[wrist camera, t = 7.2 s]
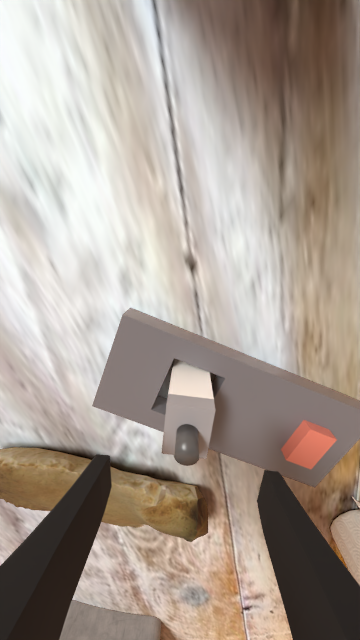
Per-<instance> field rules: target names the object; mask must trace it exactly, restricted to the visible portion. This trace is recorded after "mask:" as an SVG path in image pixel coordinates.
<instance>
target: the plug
mask: <svg viewBox="0 0 360 640" xmlns="http://www.w3.org/2000/svg"><path fill="white" fill-rule="evenodd" d="M214 416H215V404H214V397H213V391H212V384H211V378H210V372H208V371H205V370H203V369H200V368H198V367H195V366H193V365H190V364H188V363H185V362H183V361H180V360H178V359H175V358H174V362H173V368H172V374H171V380H170V386H169V392H168V398H167V404H166V414H165V425H164V435H163V445H162V453H163V454H171V455H174V457H175V460H176V461H177V462H178V463H180V464H182V465H186V466H189V465H193V464H195V463H196V462H197V461H198V460H199V458H203V459H206V458H207V453H208V448H209V442H210V437H211V432H212V426H213V421H214Z"/></svg>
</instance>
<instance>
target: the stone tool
mask: <svg viewBox="0 0 360 640" xmlns="http://www.w3.org/2000/svg"><path fill="white" fill-rule="evenodd" d="M90 462H91V460H90V459H87V458H82V457H78V456H74V455H70V454H66V453H62V452H57V451H51V450H45V449H39V448H20V447H12V448H7V449H0V499H4V500H5V501H6V502H9V503H12V504H14V505H15V506H16V507H24V508H25V509H26V508H29V509H31V510H42V511H51V510H52V509H53V508H54V507H55V506H56V504H57V503H58V502H59V501H60V500H61V498H62V497H63V496H64V495H65V494H66V492H67V491H68V490H69V489H70V488H71V486H72V485H73V484H74V483H75V481H76V480H77V479H78V477H79V476H80V475H81V474H82V472H83V471H84V470H85V468H86V467H87V466H88V464H89V463H90ZM110 469H111V483H112V487H111V491H110V495H109V498H108V502H107V505H106V509H105V512H104V515H103V518H102V521H101V522H104V523H109V524H113V525H118V526H122V527H123V526H130V527H134V528H138V527H142V526H144V525H149V526H151V527H153V528H154V529H156V530H158V531H160V532H162V533H165V534H169V535H172V536H176V537H180V538H184V539H185V540H186V541H190V542H192V541H193V540H195V539H197V538H198V537H201V536H204V535H205V534H207V533H208V509H207V503H206V501H205V499H204V497H203V496H202V494H201V493H200V491H199V489H198V487H197V486H194V485H188V484H184V483H180V482H176V481H169V480H161V479H154V478H151V477H148V476H145V475H139V474H134V473H129V472H125V471H120V470H118V469H115V468H113V467H111V466H110Z"/></svg>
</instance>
